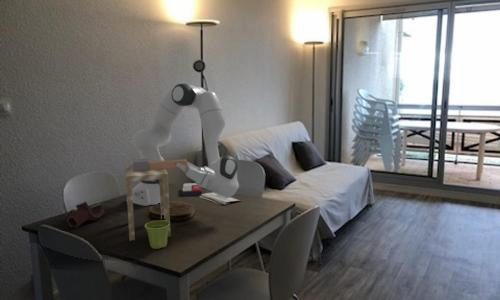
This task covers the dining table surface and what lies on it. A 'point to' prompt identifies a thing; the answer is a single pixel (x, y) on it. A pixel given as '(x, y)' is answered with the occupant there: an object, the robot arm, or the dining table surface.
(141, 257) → the dining table surface
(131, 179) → the frame
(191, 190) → the calculator
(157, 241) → the plant pot
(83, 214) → the bracket
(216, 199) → the newspaper
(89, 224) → the dining table surface
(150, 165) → the mallet
